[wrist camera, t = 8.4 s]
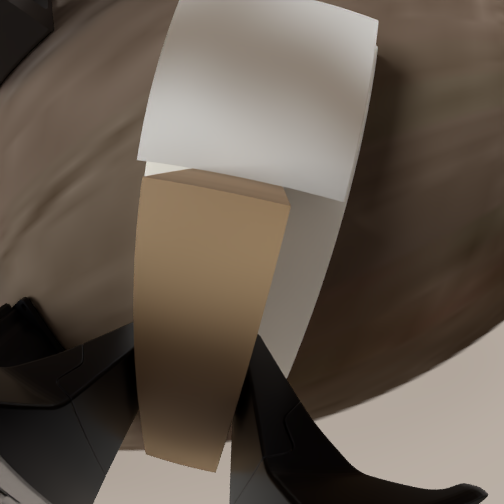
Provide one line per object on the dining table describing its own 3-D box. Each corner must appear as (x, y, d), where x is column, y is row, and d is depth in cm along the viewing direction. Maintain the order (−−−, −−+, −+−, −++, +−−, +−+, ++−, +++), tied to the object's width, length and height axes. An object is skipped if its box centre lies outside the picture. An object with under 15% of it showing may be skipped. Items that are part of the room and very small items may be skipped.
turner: (268, 403, 11) (265, 479, 7) (137, 371, 11) (101, 437, 7) (370, 29, 6) (422, -29, 2) (190, -2, 6) (149, -68, 2)
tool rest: (282, 380, 13) (282, 388, 12) (140, 346, 13) (136, 353, 12) (373, 51, 8) (378, 46, 7) (189, 17, 8) (184, 11, 7)
